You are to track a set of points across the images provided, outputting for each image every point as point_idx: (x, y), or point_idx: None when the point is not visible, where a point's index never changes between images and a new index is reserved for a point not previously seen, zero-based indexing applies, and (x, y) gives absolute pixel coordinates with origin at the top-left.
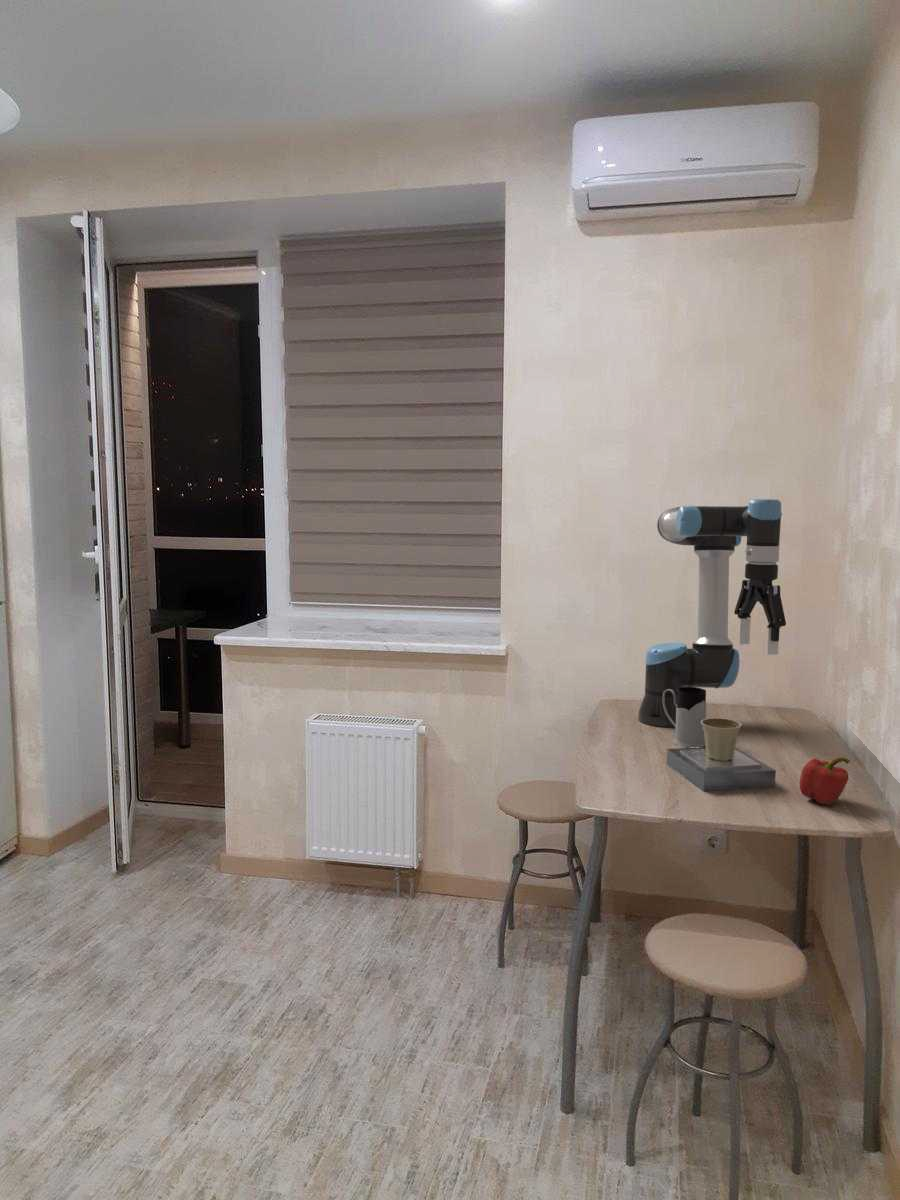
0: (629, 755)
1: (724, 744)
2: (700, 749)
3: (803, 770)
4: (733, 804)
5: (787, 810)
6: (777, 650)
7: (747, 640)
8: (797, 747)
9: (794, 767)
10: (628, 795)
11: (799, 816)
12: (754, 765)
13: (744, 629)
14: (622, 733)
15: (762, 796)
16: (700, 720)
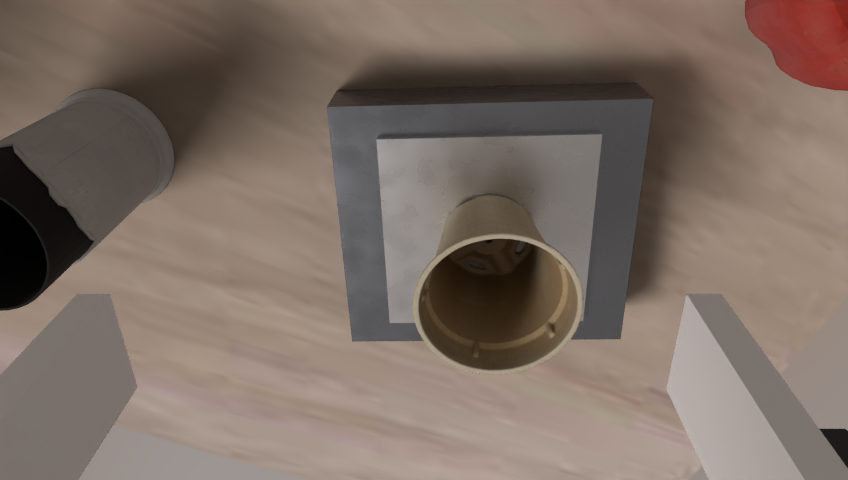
0: (265, 374)
1: (549, 279)
2: (388, 258)
3: (839, 87)
4: (729, 277)
5: (833, 155)
6: (736, 325)
7: (95, 340)
8: None
9: None
10: (586, 470)
11: None
12: (598, 159)
13: (32, 478)
14: (17, 319)
15: (701, 168)
16: (111, 173)
